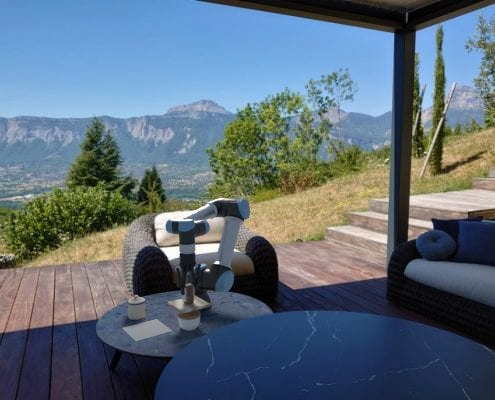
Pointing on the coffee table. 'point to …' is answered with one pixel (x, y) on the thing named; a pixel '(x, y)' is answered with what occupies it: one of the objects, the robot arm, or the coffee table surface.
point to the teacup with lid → (136, 308)
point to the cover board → (188, 307)
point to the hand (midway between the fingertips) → (188, 300)
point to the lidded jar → (189, 320)
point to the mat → (146, 329)
